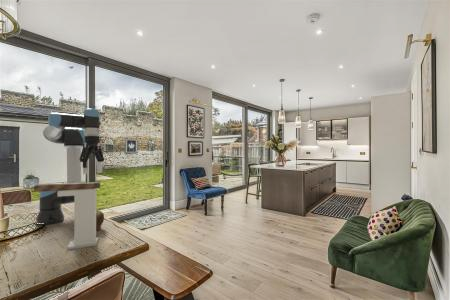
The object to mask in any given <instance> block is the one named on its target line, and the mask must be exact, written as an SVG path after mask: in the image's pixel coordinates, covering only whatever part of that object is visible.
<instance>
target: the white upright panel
mask: <svg viewBox="0 0 450 300" xmlns="http://www.w3.org/2000/svg"><path fill="white" fill-rule="evenodd" d="M60 196H74V204H73V205H74V211H73V212H74V215H73V217H74V218H73V219H74V220H73V222H74V224H73V225H74V227H73V228H74V230H73V231H74V233H73V235H74V237H73V240H70V241H69V243H68V245H67V246H66V250H75V249H82V248H89V247H96V246H98V241H99V237H97V231H96V211H97V188H95V189H81V190H62V191H58V197H60Z"/></svg>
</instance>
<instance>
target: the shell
mask: <svg viewBox="0 0 450 300" xmlns="http://www.w3.org/2000/svg"><path fill="white" fill-rule="evenodd" d="M104 219H105V215H104V212H102V211H101V210H96V232H98V231H100V230H101V228H102V225H103V224H104Z"/></svg>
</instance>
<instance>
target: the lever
mask: <svg viewBox="0 0 450 300" xmlns="http://www.w3.org/2000/svg"><path fill="white" fill-rule="evenodd" d="M95 188H96V189H100V188H101V182H96V181H93V182H92V181H90V182H83V183H67V182H66V183H49V184H47V183H46V184H45V183H44V184H35V185H34V186H33V192H34V193H38V192H39V193H40V192H42V191H62V190H81V189H95Z"/></svg>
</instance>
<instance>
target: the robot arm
mask: <svg viewBox="0 0 450 300" xmlns="http://www.w3.org/2000/svg"><path fill="white" fill-rule="evenodd" d="M47 116H48V117H47V126H46V127H44V129H43V130H42V131H43V132H42V135H43V136H44V138H45V139H46V140H47V141H49V142H51V143H53V144H57V145H58V144H60V145H63V147H64V148H65V149H66V183H84V182H83V181H82V175H89V174H90V169H89V165H90V163H89V159H90V157H91V155H92V154H93V155H94V156H95V157H94V158H95V159H96V173H97V174H98V173H99V174H100V173H101V174H102V173H103V162H104V161H105V158H104V153H103V151H102V146H101V145H100V143H101V138H100V131H101V130H100V111H99V110H98V109H96V108H85V109H84V110H83V115H82V114H69V113H60V112H49V113H48V115H47ZM38 197H39V204H38V205H39V206H38V207H39V208H38V209H39V212H38V214H37V217H36V219H35V223H36V222H37V223H44V224H45V226H46V225H52V224H56V223H60V222H62V221H64V220H65V215H64V213H63V210H62V205H66V204H72V203H74V196H60V197H58V191H42V192H39V194H38Z"/></svg>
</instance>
